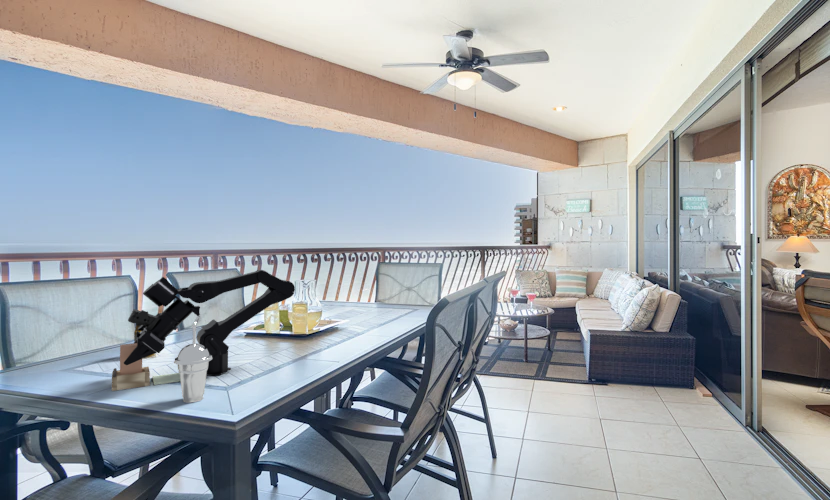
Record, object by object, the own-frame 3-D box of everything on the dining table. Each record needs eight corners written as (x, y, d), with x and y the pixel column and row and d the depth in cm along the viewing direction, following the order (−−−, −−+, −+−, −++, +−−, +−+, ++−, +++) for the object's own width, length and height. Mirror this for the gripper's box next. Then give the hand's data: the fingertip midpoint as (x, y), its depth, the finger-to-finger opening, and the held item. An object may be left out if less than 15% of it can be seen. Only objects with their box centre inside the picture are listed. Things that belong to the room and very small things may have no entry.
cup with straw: (165, 404, 101) (165, 321, 101) (191, 391, 110) (192, 315, 110) (196, 406, 99) (197, 322, 99) (220, 394, 108) (221, 316, 108)
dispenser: (148, 378, 121) (148, 364, 121) (149, 385, 115) (149, 370, 115) (112, 383, 116) (112, 368, 116) (111, 391, 110) (111, 375, 110)
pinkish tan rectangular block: (141, 381, 118) (142, 342, 118) (141, 384, 115) (142, 344, 116) (119, 384, 115) (120, 344, 115) (119, 387, 113) (120, 346, 113)
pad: (182, 373, 126) (182, 372, 126) (185, 380, 119) (185, 379, 119) (152, 377, 122) (152, 376, 122) (154, 385, 115) (154, 383, 115)
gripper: (147, 295, 125) (100, 336, 119) (150, 302, 110) (97, 349, 104) (177, 319, 130) (134, 360, 123) (184, 329, 114) (135, 376, 108)
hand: (125, 361), depth 115 cm, fingers open, 7 cm apart
